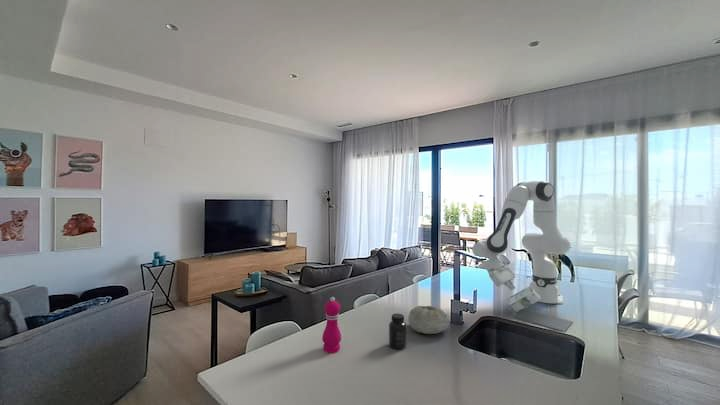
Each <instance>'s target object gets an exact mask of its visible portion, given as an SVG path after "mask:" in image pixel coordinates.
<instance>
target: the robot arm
mask: <svg viewBox="0 0 720 405" xmlns="http://www.w3.org/2000/svg"><path fill="white" fill-rule="evenodd" d="M554 193H555V188H554V186H553V184H552V183H551V182H550V181H544V180H542V181H541V180H534V181H533V180H531V181H526V182H524V181H522V182H520V183H517V184H516V185H514V186H513V187H512V188H511V189H510V190H509V192H508V193H507V195H506V198H505V200H504V201H503V205H502V209H501V215H500V219H499V221H498V223H497V226H496V228H495V230H494V231H493V232H492V233H491V234H490V235H489V236H488V237H487V239H485V240H477V242H475V243H474V244H473V246H472V248H471V251H472V253H473V255H474V256H479V257H485V258H488V259H489V260H487V261H479V262H480V263H481V264H482V266H483V268H484V269H485V270H486V271H487V273H488V276H489V278H490V280H491V281H492V282H493V284H494V285H495V286H496V287H500V286H502V285H504V286H505V287H507V288H508V289H509V290H510V291H513V290H516V286H515V285H514V283H513V280H515V279H516V275H515V273H514V272H513V271H512V269H511V268H510V267H509V266H508V264H507V262H505V261H502V260H500V259H499V257H500V256H502V255H504V254H505V253H506V252H507V251H508V244H509V243H508V235H509V233H510V230H511V228H512V225H513V223H514V221H516V220H519V219H520V218H521V216H522V215H523V213H524V212H525V210H526V207H527V205H528V201H532V202H533V207H532V212H533V214H532V215H533V216H532V217H533V219H532V220H533V224H534V226H536V227H537V228H538V229H540V230H541V232H542V233H537V232H531V233H529V232H528V233H525V234H524V235H523V237H522V239H521V242H522V243H521V245H522V247H523V248H524V249H526V251H527V252H528V253H529V255H530V257H531V260H532V264H533V265H532V267H533V268H532V269H533V271H532V272H533V273H532V276H531V277H532V278H531V280H532V281H531V282H529V284H528V287H529V286H532V287H533V288H534V289H535V290H536V291H537V292H538V293H539V295H540V297H541V300H539V301H538V302H539V303H544V304H557V305H558V304H559V305H562V304H563V302H564V300H563V299H564V296H563V295H561V294H560V293H559V291H560V290H559V289H560V288H559V286H558V285H557V275H556V264H555V262H554V261H553V260H552V259H550V258H549V257H548V255H547V254H552V255H566V254H567V253H569V251H570V249H571V242H570V241H569V239H568V238H567V237H566V236H564V235H563V234H562V232H561V231H560V229H559V228H558V225H557V221H556V220H557V219H556V204H555V200H554Z"/></svg>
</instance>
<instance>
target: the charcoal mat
mask: <svg viewBox="0 0 720 405" xmlns="http://www.w3.org/2000/svg"><path fill="white" fill-rule="evenodd" d="M511 317H512V318H514V319H517V320H521V321H523V322H527V323H531V324H535V325H538V326H542V327H545V328H548V327H549V329H552V328H553V329H552V330H555V329H557V330H556V331H559V330H561V331H560V332H562V331H564V332H563V333H566V331H568V329H569V328H570V327H571V325H573V323H574V321H572V320H570V319H566V318H561V317H557V316H554V315H550V314H546V313H543V312H539V311H538V312H537V311H534V310H530V309H526V308H524V309H523V310H521V311H519V312H517V313H516V312H515V314H514V315H512V316H511Z"/></svg>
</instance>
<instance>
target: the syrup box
mask: <svg viewBox="0 0 720 405" xmlns="http://www.w3.org/2000/svg"><path fill="white" fill-rule="evenodd" d="M506 300H507V303H508V306H509V307H510V308H511V309H512V310H513V311H514V312H515V314H516V313H518V312H519V311H521V310H523V309H526V308H528V307H530V306H532V305H534V304H536V303H538V302H539V300H541V297H540V295H539V293H538V292H537V291H536V290H535V289H534V288H533V287H532V286H529V285H528V286H526V287H525V288H524V289H522V290H520V291H518V292H516V293H515V294H513V295H511V296H509V297H507V299H506Z"/></svg>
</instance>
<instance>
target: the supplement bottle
mask: <svg viewBox="0 0 720 405" xmlns="http://www.w3.org/2000/svg"><path fill="white" fill-rule="evenodd" d="M388 346H389V347H390V348H391V349H393V350H397V351H399V350H404V349H405V348H406V347H407V324H406V322H405V315H404V314H402V313H398V312H397V313H393V314H391V321H389V323H388Z"/></svg>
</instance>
